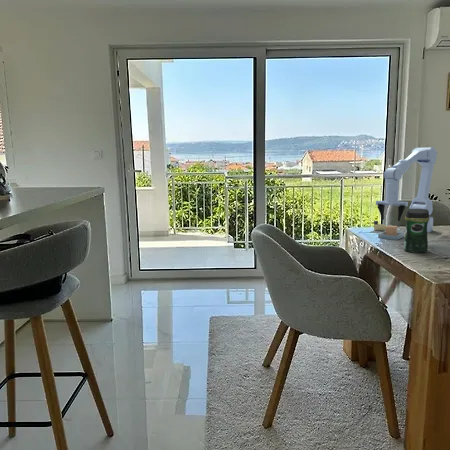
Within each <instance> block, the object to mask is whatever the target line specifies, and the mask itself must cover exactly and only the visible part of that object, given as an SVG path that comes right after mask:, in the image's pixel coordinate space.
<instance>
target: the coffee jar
mask: <svg viewBox="0 0 450 450" xmlns="http://www.w3.org/2000/svg"><path fill="white" fill-rule="evenodd" d="M404 215H405V216H404V220H405V232H404V241H403V250H404V251H406V252H411V253H426V252H428V251H429V242H428V232H427V224H428V221H429V217H430V216H429V211H428V210H427V209H410V208H407V209H406V211H405V214H404Z"/></svg>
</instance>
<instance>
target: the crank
mask: <svg viewBox="0 0 450 450" xmlns="http://www.w3.org/2000/svg"><path fill="white" fill-rule="evenodd" d="M389 225H390V226H392V224H390V223H389V224H388V223H387V224H382V223H380V224H379V220H373V231H374V230H381V231H386V226H389Z"/></svg>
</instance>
